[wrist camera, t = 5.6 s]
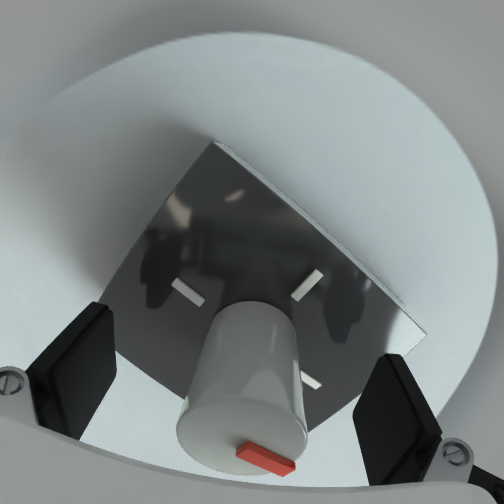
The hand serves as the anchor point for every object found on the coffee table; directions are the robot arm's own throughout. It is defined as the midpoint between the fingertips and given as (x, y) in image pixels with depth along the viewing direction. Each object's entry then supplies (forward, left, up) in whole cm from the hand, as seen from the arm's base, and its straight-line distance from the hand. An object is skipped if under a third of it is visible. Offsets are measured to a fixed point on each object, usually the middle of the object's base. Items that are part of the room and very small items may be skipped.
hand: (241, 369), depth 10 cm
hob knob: (0, 0, -3) cm, 3 cm away
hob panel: (0, 0, -6) cm, 6 cm away
